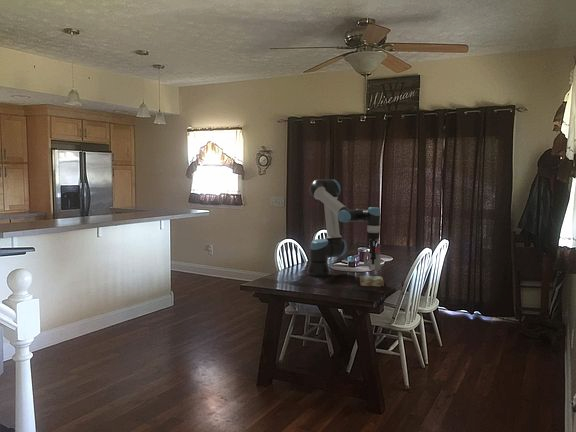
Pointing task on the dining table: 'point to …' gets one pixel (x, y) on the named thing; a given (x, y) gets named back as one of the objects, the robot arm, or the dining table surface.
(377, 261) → the mug
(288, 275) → the dining table surface
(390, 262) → the dining table surface
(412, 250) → the dining table surface
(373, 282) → the stand
